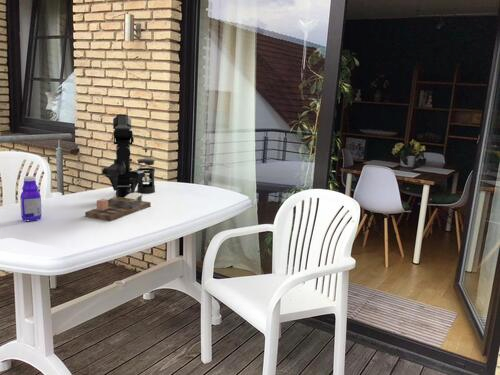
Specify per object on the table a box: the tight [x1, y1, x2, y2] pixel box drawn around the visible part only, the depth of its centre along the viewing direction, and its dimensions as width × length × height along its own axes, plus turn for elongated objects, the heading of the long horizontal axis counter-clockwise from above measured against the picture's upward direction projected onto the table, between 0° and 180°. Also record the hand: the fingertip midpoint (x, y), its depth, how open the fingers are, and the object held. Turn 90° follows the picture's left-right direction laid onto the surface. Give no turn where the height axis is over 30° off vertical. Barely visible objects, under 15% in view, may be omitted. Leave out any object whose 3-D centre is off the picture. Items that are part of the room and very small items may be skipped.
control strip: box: [84, 194, 152, 222], centre depth 198 cm, size 13×28×5 cm, turn 158°
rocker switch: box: [124, 192, 144, 200], centre depth 207 cm, size 6×6×1 cm
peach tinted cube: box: [96, 198, 108, 210], centre depth 192 cm, size 3×4×4 cm
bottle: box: [19, 175, 42, 221], centre depth 179 cm, size 7×6×17 cm
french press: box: [136, 147, 156, 195], centre depth 237 cm, size 12×9×23 cm
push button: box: [110, 196, 137, 203], centre depth 201 cm, size 11×4×2 cm, turn 68°
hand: (123, 191), depth 200 cm, fingers open, 9 cm apart
